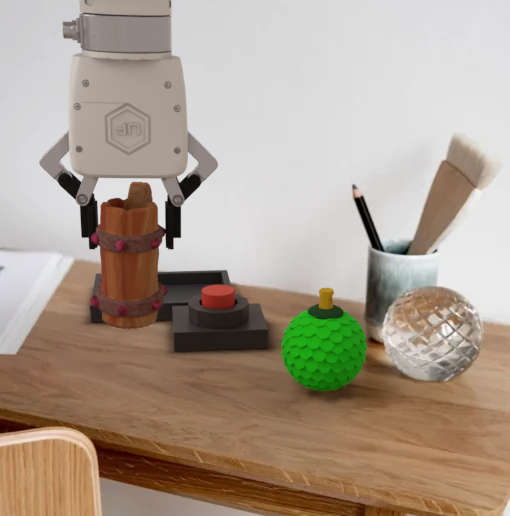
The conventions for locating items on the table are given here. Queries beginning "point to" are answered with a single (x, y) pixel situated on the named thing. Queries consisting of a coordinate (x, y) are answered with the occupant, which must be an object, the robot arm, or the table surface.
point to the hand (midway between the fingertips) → (132, 243)
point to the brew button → (218, 296)
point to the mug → (129, 259)
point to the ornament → (324, 346)
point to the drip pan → (174, 289)
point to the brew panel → (219, 326)
